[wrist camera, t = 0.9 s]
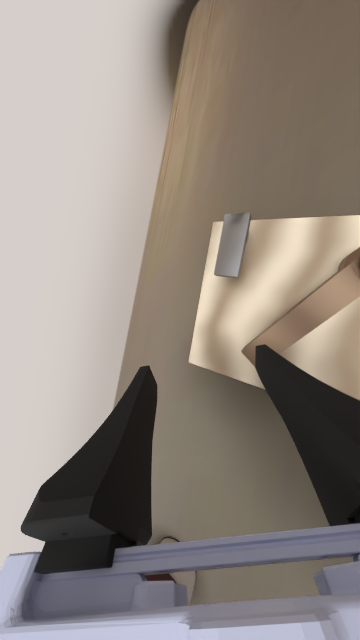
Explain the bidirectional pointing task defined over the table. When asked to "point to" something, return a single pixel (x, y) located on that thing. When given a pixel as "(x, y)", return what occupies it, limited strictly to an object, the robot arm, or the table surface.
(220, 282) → the plate
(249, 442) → the table surface
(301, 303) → the brown long round-headed piece
